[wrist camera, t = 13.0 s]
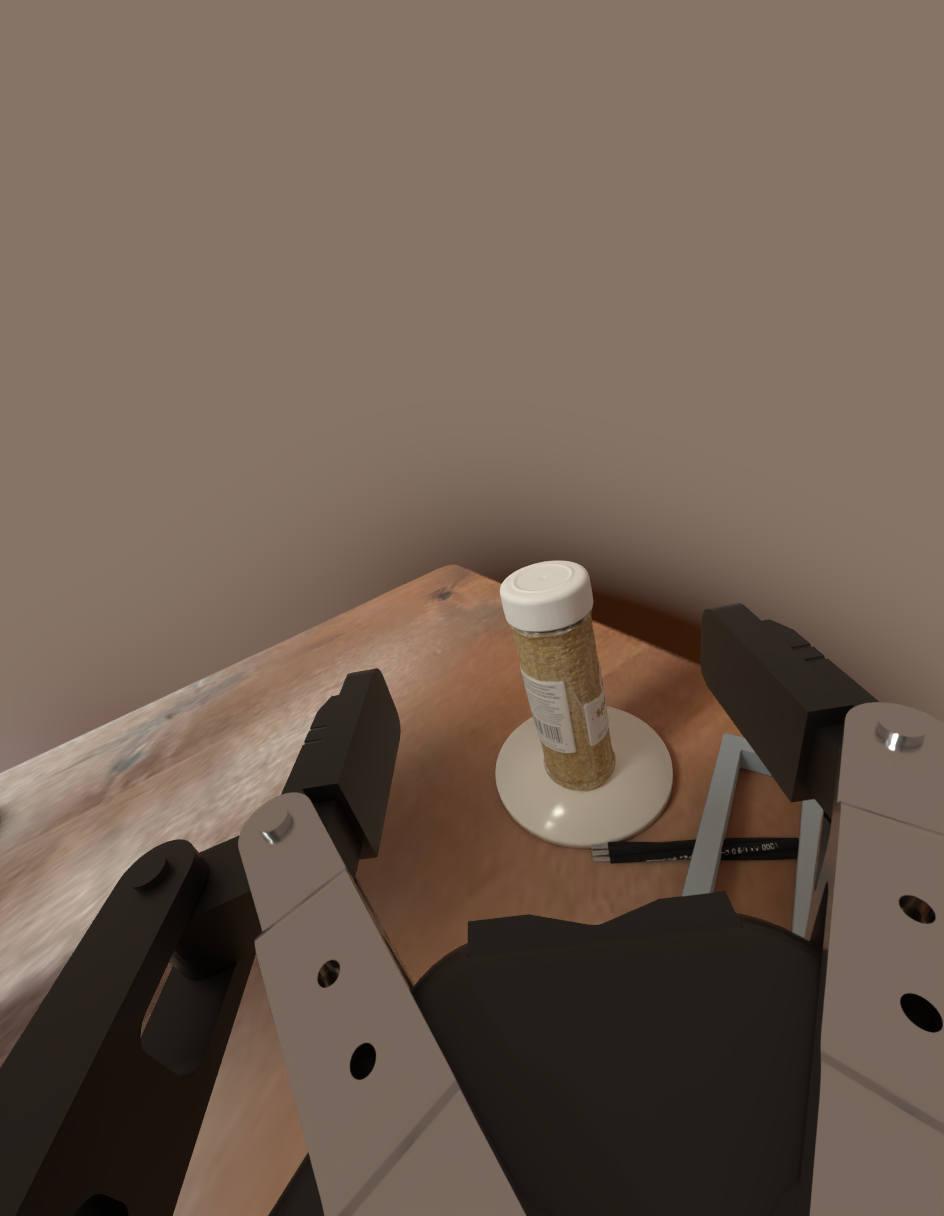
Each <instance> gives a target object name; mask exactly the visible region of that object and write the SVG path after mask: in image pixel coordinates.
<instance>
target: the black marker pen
mask: <svg viewBox="0 0 944 1216" xmlns="http://www.w3.org/2000/svg"><path fill="white" fill-rule="evenodd" d="M695 843H696V840H685V841H672V842H608V844H600V845H592V844H591V848H592V849H609V850H600V851H593V850H592V856H595V855H606V854H609V856H610V857H593V861H596V862H598V861H610V862H611V863H627V862H650V861H651V862H652V861H666V860H678V859H691V858H692V854H693V850H694V847H695ZM798 847H799V838H724V840H723V846H722V850H721V860H776V859H796V858H797V857H798Z"/></svg>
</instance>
